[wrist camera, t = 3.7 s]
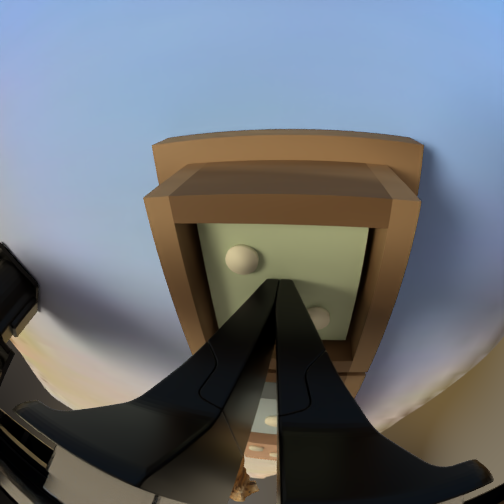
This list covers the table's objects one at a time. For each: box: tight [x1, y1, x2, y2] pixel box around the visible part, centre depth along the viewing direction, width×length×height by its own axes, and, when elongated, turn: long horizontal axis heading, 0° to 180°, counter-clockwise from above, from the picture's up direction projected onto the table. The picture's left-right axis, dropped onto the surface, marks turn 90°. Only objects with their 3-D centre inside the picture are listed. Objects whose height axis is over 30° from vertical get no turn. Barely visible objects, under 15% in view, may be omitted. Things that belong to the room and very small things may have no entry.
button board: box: [143, 129, 424, 435], centre depth 14 cm, size 24×10×5 cm, turn 4°
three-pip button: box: [244, 432, 277, 460], centre depth 17 cm, size 5×5×2 cm
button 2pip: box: [197, 223, 369, 340], centre depth 10 cm, size 5×5×2 cm
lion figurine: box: [229, 455, 259, 501], centre depth 27 cm, size 15×5×9 cm, turn 29°
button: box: [251, 382, 277, 434], centre depth 12 cm, size 5×5×2 cm
